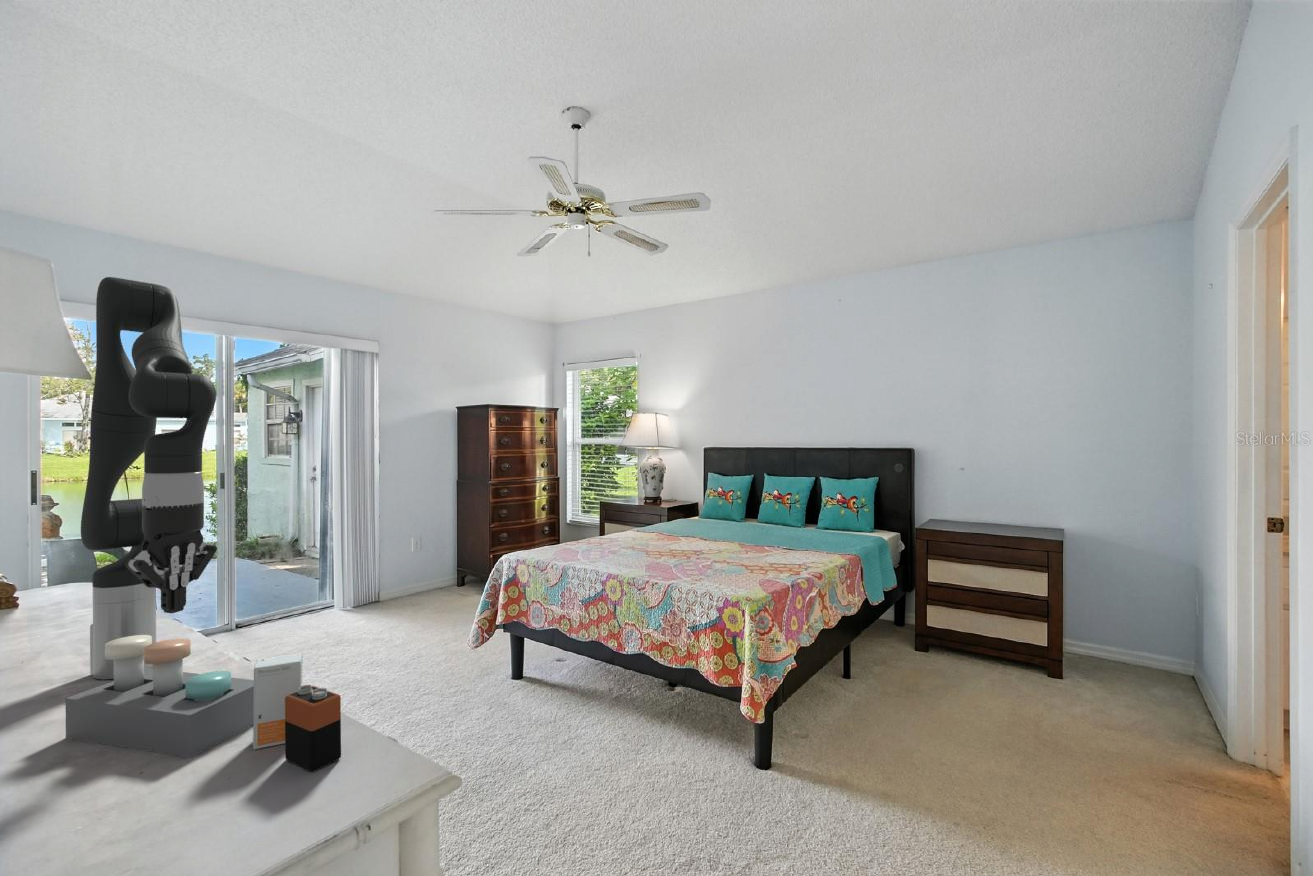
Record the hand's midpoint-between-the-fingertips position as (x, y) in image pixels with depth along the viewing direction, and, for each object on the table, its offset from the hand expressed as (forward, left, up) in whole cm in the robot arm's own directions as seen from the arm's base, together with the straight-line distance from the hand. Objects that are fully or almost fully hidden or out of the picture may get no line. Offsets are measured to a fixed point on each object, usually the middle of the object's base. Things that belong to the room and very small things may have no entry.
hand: (173, 611), depth 94 cm
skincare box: (+19, +1, -18) cm, 27 cm away
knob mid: (-1, 0, -13) cm, 13 cm away
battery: (+29, -3, -18) cm, 34 cm away
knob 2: (+7, 0, -17) cm, 19 cm away
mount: (-1, 0, -18) cm, 18 cm away
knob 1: (-9, 0, -13) cm, 15 cm away
